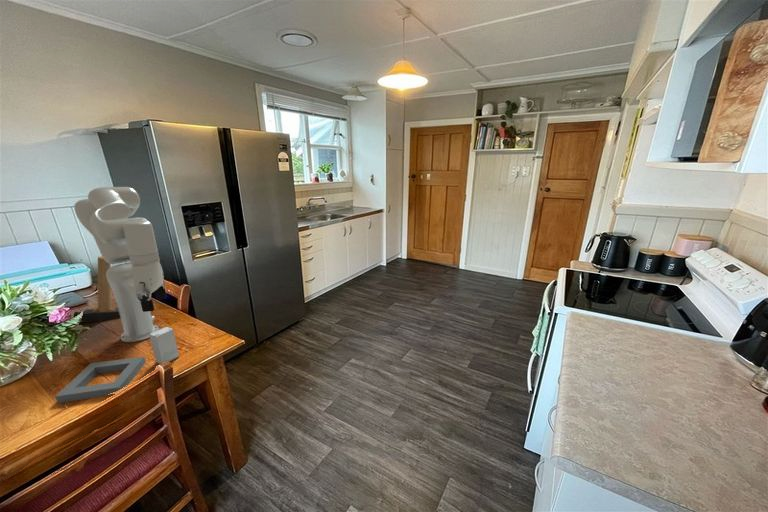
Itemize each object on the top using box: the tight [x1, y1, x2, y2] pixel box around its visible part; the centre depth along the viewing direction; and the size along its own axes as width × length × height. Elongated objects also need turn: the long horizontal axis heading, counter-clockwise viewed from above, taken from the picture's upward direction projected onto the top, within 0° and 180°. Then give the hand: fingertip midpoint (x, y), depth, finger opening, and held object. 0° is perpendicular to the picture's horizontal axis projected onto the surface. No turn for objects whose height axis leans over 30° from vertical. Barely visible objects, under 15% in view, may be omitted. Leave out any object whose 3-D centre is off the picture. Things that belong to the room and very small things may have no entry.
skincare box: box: [149, 326, 180, 365], centre depth 107 cm, size 6×4×12 cm
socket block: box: [55, 356, 146, 404], centre depth 97 cm, size 16×16×2 cm
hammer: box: [73, 255, 120, 323], centre depth 134 cm, size 20×5×30 cm, turn 124°
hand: (155, 304), depth 102 cm, fingers open, 9 cm apart
